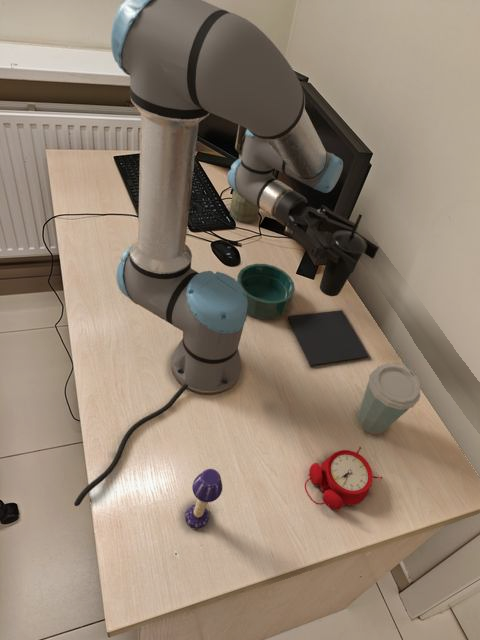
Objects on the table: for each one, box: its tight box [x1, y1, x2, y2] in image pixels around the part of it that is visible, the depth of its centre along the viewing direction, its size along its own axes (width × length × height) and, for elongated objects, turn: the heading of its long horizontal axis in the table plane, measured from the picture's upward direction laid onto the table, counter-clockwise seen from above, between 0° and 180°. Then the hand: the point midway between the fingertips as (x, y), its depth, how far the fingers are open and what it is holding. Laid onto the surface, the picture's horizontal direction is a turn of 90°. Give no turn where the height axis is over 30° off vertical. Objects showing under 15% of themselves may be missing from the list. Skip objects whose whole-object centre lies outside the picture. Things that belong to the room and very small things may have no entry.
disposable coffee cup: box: [357, 362, 421, 435], centre depth 96 cm, size 11×11×15 cm
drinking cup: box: [319, 214, 367, 297], centre depth 99 cm, size 8×8×20 cm
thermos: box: [229, 124, 261, 224], centre depth 131 cm, size 9×12×35 cm
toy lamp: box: [184, 468, 223, 530], centre depth 75 cm, size 5×5×17 cm
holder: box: [286, 309, 370, 368], centre depth 116 cm, size 16×16×1 cm
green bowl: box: [236, 263, 296, 320], centre depth 118 cm, size 15×15×6 cm
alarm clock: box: [304, 446, 383, 511], centre depth 89 cm, size 10×6×15 cm
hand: (365, 260), depth 96 cm, fingers closed on drinking cup, 8 cm apart
